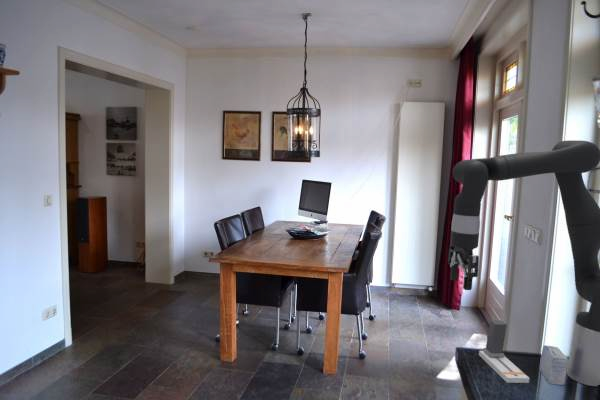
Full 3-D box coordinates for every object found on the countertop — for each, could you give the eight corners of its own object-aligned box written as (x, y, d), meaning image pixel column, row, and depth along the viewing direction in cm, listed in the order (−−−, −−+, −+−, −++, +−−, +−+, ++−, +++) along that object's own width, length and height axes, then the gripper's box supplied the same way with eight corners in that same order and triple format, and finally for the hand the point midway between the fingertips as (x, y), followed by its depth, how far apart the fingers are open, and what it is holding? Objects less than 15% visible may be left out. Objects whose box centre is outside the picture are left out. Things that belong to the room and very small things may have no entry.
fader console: (498, 355, 140) (498, 350, 140) (528, 382, 124) (529, 377, 124) (478, 354, 139) (479, 350, 139) (506, 382, 124) (507, 377, 123)
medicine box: (564, 386, 124) (569, 359, 123) (548, 383, 125) (552, 356, 124) (553, 372, 132) (558, 346, 131) (538, 369, 133) (543, 344, 131)
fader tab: (497, 350, 139) (501, 319, 138) (504, 357, 135) (509, 325, 134) (483, 350, 139) (487, 319, 137) (489, 356, 135) (494, 324, 133)
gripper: (490, 235, 112) (485, 293, 114) (466, 225, 126) (462, 277, 128) (463, 235, 112) (458, 293, 114) (442, 225, 126) (438, 277, 128)
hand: (460, 284), depth 121 cm, fingers open, 8 cm apart
